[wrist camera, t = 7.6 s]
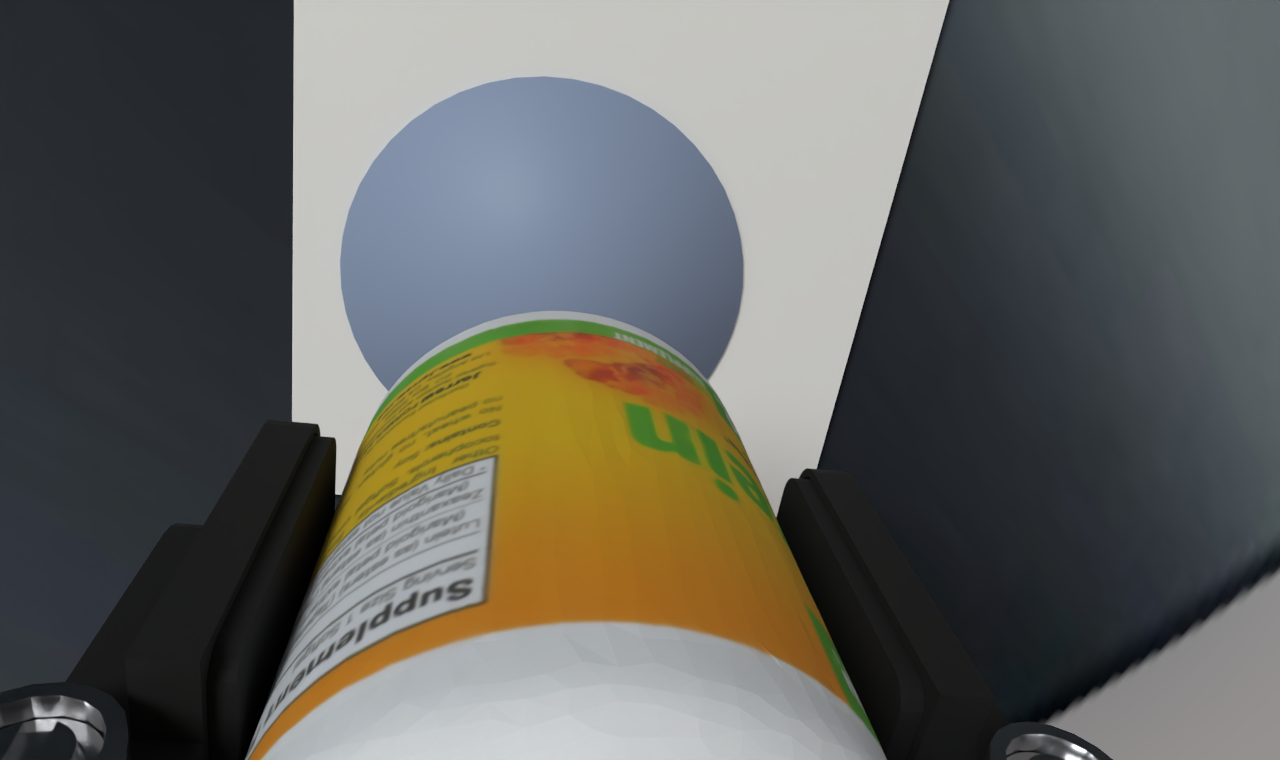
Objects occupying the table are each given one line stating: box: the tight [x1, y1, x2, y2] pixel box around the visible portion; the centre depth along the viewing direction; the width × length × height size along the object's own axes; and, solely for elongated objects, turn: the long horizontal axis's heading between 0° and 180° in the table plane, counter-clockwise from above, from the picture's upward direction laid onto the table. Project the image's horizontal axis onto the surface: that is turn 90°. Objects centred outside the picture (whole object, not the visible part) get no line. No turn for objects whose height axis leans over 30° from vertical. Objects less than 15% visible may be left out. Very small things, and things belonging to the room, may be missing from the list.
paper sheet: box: [292, 0, 949, 517], centre depth 19 cm, size 18×13×1 cm
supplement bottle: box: [245, 311, 887, 760], centre depth 8 cm, size 5×5×10 cm
